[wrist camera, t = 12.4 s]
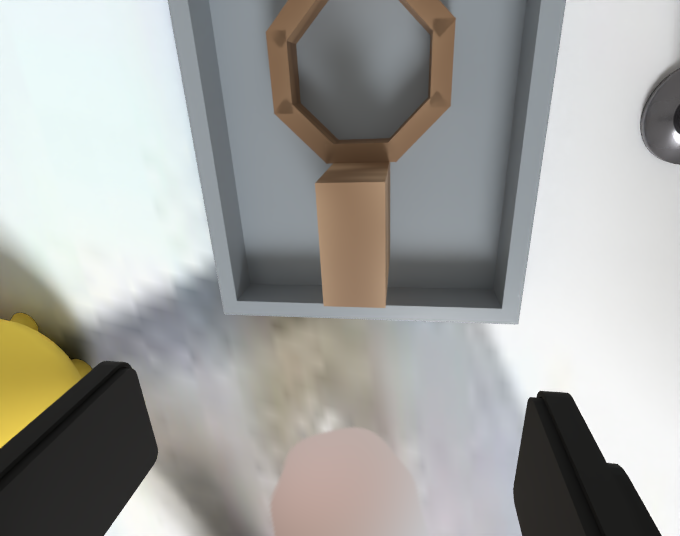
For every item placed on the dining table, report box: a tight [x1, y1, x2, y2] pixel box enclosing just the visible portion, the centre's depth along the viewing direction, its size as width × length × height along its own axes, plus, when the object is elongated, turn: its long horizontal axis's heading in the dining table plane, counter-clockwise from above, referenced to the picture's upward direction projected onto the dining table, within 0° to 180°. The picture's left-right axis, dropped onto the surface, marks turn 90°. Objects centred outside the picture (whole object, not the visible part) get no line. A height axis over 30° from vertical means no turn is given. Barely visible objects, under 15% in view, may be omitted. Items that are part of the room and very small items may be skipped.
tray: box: [168, 0, 566, 324], centre depth 22 cm, size 18×22×3 cm
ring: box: [266, 0, 456, 308], centre depth 20 cm, size 9×15×7 cm, turn 3°
